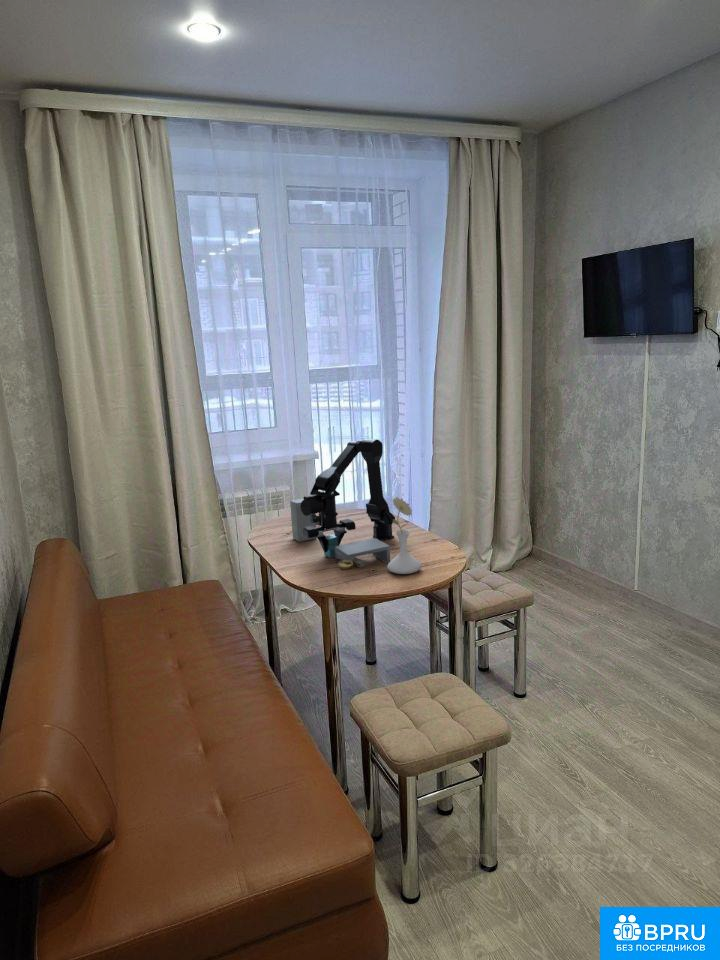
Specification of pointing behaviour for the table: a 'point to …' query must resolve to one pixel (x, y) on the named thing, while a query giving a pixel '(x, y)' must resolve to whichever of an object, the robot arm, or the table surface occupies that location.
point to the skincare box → (299, 521)
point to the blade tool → (331, 552)
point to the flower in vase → (403, 545)
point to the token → (345, 564)
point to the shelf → (366, 549)
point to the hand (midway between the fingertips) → (330, 550)
